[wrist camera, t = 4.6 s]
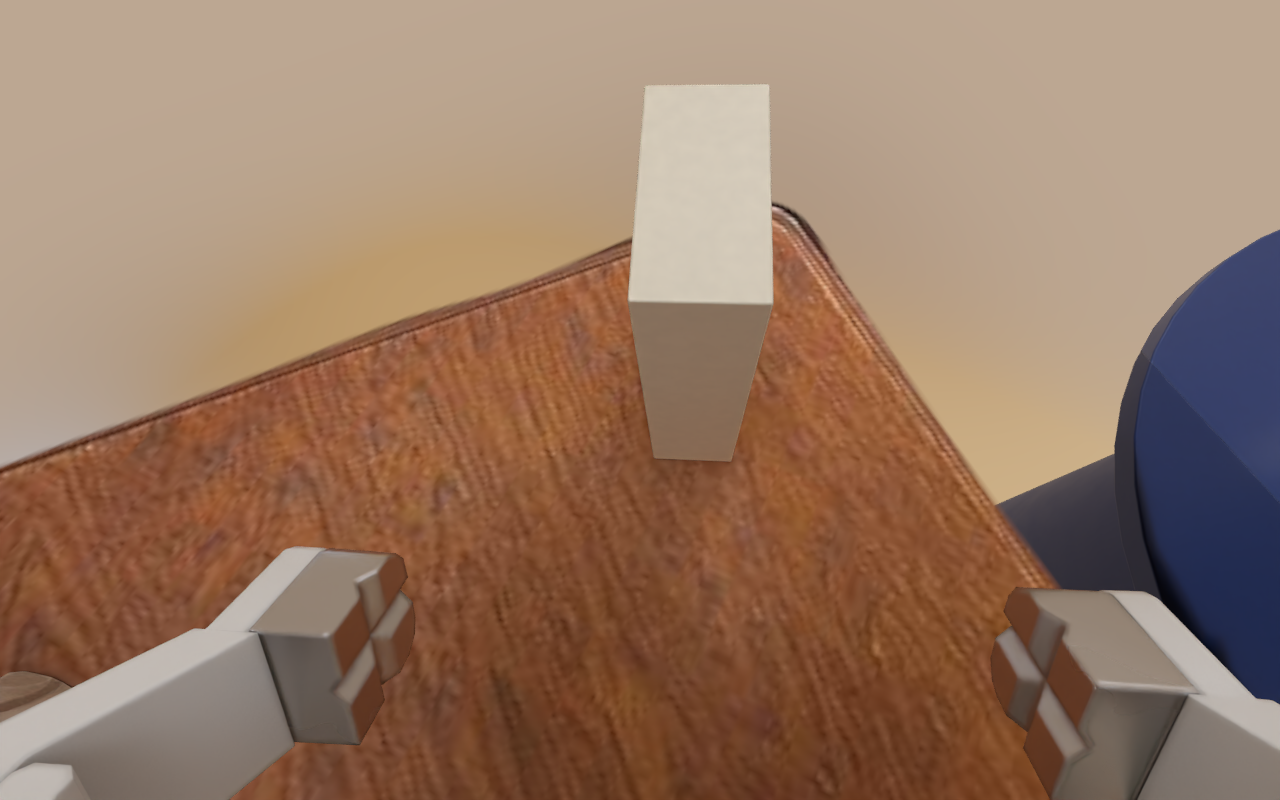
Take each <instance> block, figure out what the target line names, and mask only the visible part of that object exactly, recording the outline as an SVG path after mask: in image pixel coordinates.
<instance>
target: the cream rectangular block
mask: <svg viewBox="0 0 1280 800" xmlns="http://www.w3.org/2000/svg"><path fill="white" fill-rule="evenodd" d="M770 132H771V130H770V87H769V85H767V84H754V85H753V84H746V85H744V84H743V85H647V86H645V88H644V99H643V111H642V125H641V137H640V149H639V163H638V174H637V187H636V200H635V213H634V225H633V238H632V250H631V263H630V276H629V288H628V306H629V312H630V318H631V324H632V330H633V336H634V342H635V348H636V354H637V360H638V366H639V372H640V378H641V384H642V390H643V396H644V402H645V408H646V414H647V420H648V426H649V432H650V438H651V445H652V451H653V457H654V458H655V459H678V460H702V461H726V462H731V461H732V457H733V453H734V450H735V446H736V442H737V438H738V435H739V431H740V427H741V423H742V420H743V416H744V412H745V408H746V405H747V401H748V397H749V393H750V390H751V386H752V382H753V378H754V375H755V371H756V367H757V363H758V360H759V356H760V352H761V348H762V344H763V341H764V337H765V333H766V329H767V326H768V322H769V318H770V314H771V311H772V307H773V246H772V191H771V190H772V189H771V133H770Z"/></svg>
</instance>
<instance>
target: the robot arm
mask: <svg viewBox="0 0 1280 800" xmlns="http://www.w3.org/2000/svg"><path fill="white" fill-rule="evenodd" d="M407 578H408V576H407V572H406V568H405V563H404V559H403V558H402V557H401V556H399V555H398V554H396V553H386V552H373V551H361V550H348V549H335V548H328V549H325V548H315V547H301V546H295V547H292V548H289V549H286V550H284V551H283V552H282V553H281V554H280V555H279V556H278V557H277V558H276V559H275V560H274V561H273V562H272V563H271V564H270V565H269V566H268V567H267V568H266V569H265V570H264V571H263V572H262V573H261V574H260V575H259V576H258V577H257V578H256V579H255V580H254V581H253V582H252V583H251V584H250V585H249V586H248V587H247V588H246V589H245V590H244V591H243V592H242V593H241V594H240V595H239V596H238V597H237V598H236V599H235V600H234V601H233V602H232V603H231V604H230V605H229V606H228V607H227V608H226V609H225V610H224V611H223V612H222V613H221V614H220V615H219V616H218V617H217V618H216V619H215V620H214V621H213V622H212V623H211V624H210V625H209V626H208V627H207V628H206V629H192V630H190V631H188V632H186V633H184V634H182V635H180V636H178V637H176V638H174V639H171V640H169V641H167V642H165V643H163V644H161V645H159V646H157V647H155V648H153V649H151V650H149V651H147V652H145V653H143V654H141V655H138V656H136V657H134V658H132V659H130V660H128V661H126V662H124V663H122V664H120V665H118V666H116V667H114V668H112V669H110V670H108V671H105V672H103V673H101V674H99V675H97V676H95V677H93V678H91V679H89V680H87V681H85V682H83V683H81V684H79V685H77V686H75V687H73V688H70V689H68V690H66V691H64V692H62V693H60V694H58V695H56V696H54V697H52V698H50V699H48V700H46V701H44V702H42V703H40V704H37V705H35V706H33V707H31V708H29V709H27V710H25V711H23V712H21V713H19V714H17V715H15V716H13V717H11V718H9V719H7V720H5V721H2V722H0V800H229V799H230V798H232V797H233V796H234V795H235V794H237V793H238V792H239V791H240V790H241V789H243V788H244V787H245V786H246V785H248V784H249V783H250V782H251V781H252V780H254V779H255V778H256V777H257V776H259V775H260V774H261V773H262V772H263V771H265V770H266V769H267V768H268V767H270V766H271V765H272V764H273V763H274V762H276V761H277V760H278V759H279V758H281V757H282V756H283V755H284V754H285V753H287V752H288V751H289V750H290V749H292V748H293V747H294V746H295V743H294V742H307V743H327V744H347V745H360V744H361V742H362V740H363V738H364V737H365V735H366V733H367V731H368V730H369V728H370V726H371V724H372V722H373V721H374V719H375V717H376V715H377V713H378V712H379V710H380V708H381V706H382V704H383V703H384V701H385V699H384V695H383V690H382V686H381V685H383V684H384V683H385V682H387V681H388V680H390V679H391V678H393V677H394V676H396V675H397V674H398V673H400V672H401V670H402V668H403V666H404V664H405V662H406V660H407V658H408V656H409V654H410V650H411V646H412V642H413V639H414V635H415V612H414V607H413V602H412V601H411V600H410V599H409V598H408V597H407V596H406V595H405V594H404V593H403V592H402V591H401V590H400V589H401V587H402V586H403V584H404V583H405V581H406V579H407ZM1004 613H1005V615H1006V616H1007V618H1008V620H1009V621H1010V623H1011V625H1012V626H1010V627H1009V628H1008V629H1006V630H1005V631H1004V632H1003V633H1001V634H1000V635H999V636H997V637H996V638H995V642H994V646H993V650H992V654H991V674H992V682H993V685H994V689H995V692H996V695H997V698H998V700H999V702H1000V704H1001V706H1002V708H1003V710H1004V712H1005V714H1006V715H1007V716H1008V717H1009V718H1010V719H1012V720H1013V721H1014V722H1015V723H1017V724H1018V725H1019V726H1020V727H1022V728H1023V729H1024V730H1025V731H1027V732H1028V733H1027V736H1026V740H1025V743H1024V746H1023V749H1024V751H1025V752H1026V754H1027V756H1028V758H1029V760H1030V762H1031V764H1032V766H1033V768H1034V769H1035V771H1036V773H1037V775H1038V777H1039V779H1040V781H1041V783H1042V785H1043V787H1044V788H1045V790H1046V792H1047V794H1048V796H1049V798H1050V800H1280V704H1278V703H1276V702H1274V701H1272V700H1264V699H1256V698H1255V697H1254V696H1253V695H1252V694H1251V693H1250V692H1249V691H1248V690H1247V689H1246V688H1245V687H1244V686H1243V685H1242V684H1241V683H1240V682H1239V681H1238V680H1237V679H1236V678H1235V677H1234V676H1233V675H1232V674H1231V673H1230V672H1229V671H1228V670H1227V669H1226V668H1225V667H1224V666H1223V665H1222V664H1221V663H1220V662H1219V660H1218V659H1217V658H1216V657H1215V656H1214V655H1213V654H1212V653H1211V652H1210V651H1209V650H1208V649H1207V648H1206V647H1205V646H1204V645H1203V644H1202V643H1201V642H1200V641H1199V640H1198V639H1197V638H1196V637H1195V636H1194V635H1193V634H1192V633H1191V632H1190V631H1189V630H1188V629H1187V628H1186V627H1185V626H1184V625H1183V624H1182V623H1181V622H1180V621H1179V620H1178V619H1177V618H1176V617H1175V616H1174V615H1173V613H1172V612H1171V611H1170V610H1169V609H1168V608H1167V607H1166V606H1165V605H1164V604H1163V603H1162V602H1161V601H1160V600H1159V599H1157V598H1156V597H1154V596H1152V595H1150V594H1148V593H1146V592H1142V591H1111V590H1100V591H1085V590H1064V589H1044V588H1023V587H1016V588H1015V589H1014V590H1013V591H1012V592H1011V594H1010V595H1009V596H1008V599H1007V602H1006V605H1005V608H1004Z"/></svg>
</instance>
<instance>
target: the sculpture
mask: <svg viewBox="0 0 1280 800" xmlns="http://www.w3.org/2000/svg"><path fill="white" fill-rule="evenodd" d="M70 688H71V687H69V686H68V685H66V684H65V683H63V682H61V681H59V680H57V679H54V678H52V677H49V676H45V675H40V674H36V673H31V672H27V671H21V672H10V673H8V674H6V675H4V676H2V677H1V678H0V722H2V721H5V720H7V719H9V718H11V717H13V716H15V715H17V714H19V713H21V712H23V711H25V710H27V709H29V708H31V707H33V706H35V705H37V704H40V703H42V702H44V701H46V700H48V699H50V698H52V697H54V696H56V695H58V694H60V693H62V692H64V691H66V690H68V689H70Z"/></svg>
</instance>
